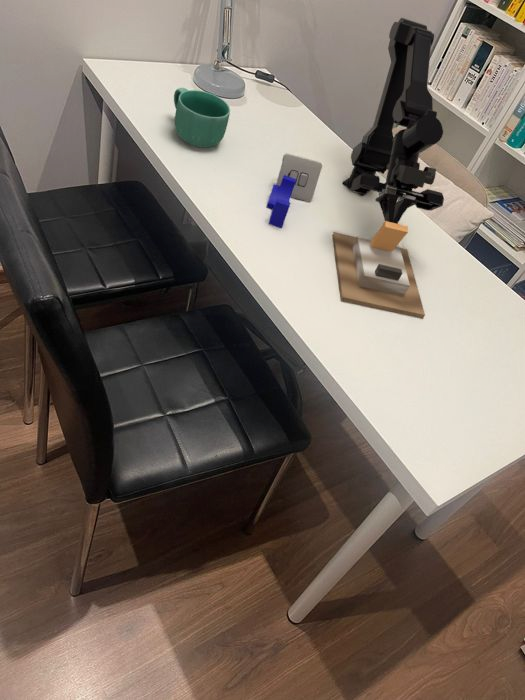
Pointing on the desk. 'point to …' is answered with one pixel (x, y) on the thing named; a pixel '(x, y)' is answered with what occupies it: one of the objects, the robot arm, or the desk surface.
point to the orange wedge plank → (389, 236)
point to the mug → (200, 117)
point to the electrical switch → (300, 175)
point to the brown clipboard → (376, 276)
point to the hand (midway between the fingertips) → (389, 232)
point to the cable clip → (280, 201)
